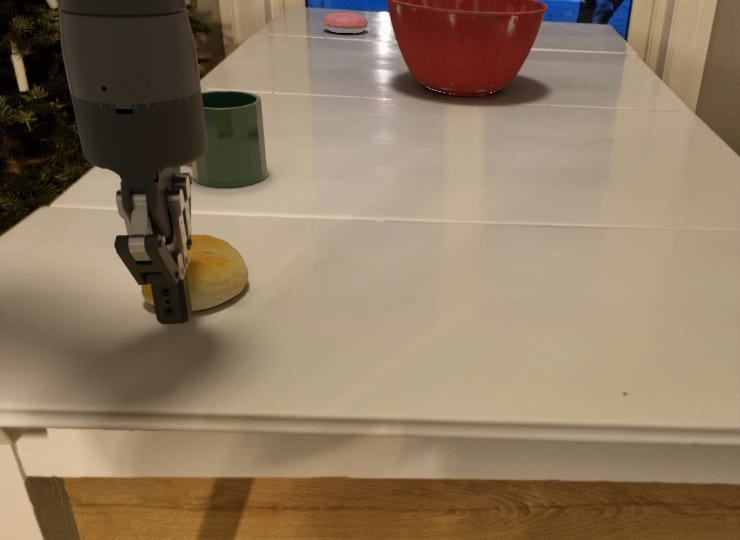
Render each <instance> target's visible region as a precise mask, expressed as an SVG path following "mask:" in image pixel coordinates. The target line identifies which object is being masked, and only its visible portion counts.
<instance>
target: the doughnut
mask: <svg viewBox="0 0 740 540" xmlns="http://www.w3.org/2000/svg"><path fill="white" fill-rule="evenodd" d="M322 23H323V26H324V25H326V26H329V27H335V28H342V29H362V28H366V27H367V28H368V25H369V23H368V18H367V17H365V15H363V14H360V13H358V12H357V13H356V12H355V13H354V12H344V11H343V12H341V11H339V12H330V13H326V15H324V18H323V19H322ZM362 33H363V32H361V33H360V34H362ZM352 35H357V34H356V33H353V34H352Z"/></svg>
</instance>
